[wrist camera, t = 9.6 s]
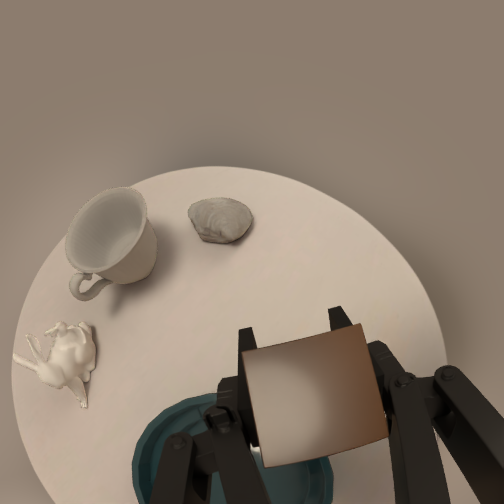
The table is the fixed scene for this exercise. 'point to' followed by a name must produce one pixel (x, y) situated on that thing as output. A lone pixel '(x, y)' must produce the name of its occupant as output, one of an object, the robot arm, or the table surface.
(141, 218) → the teacup
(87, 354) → the rabbit figurine
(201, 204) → the pebble
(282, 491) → the bowl
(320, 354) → the walnut block
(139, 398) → the table surface
